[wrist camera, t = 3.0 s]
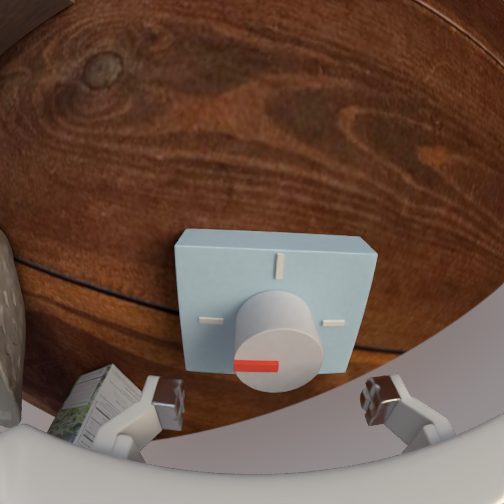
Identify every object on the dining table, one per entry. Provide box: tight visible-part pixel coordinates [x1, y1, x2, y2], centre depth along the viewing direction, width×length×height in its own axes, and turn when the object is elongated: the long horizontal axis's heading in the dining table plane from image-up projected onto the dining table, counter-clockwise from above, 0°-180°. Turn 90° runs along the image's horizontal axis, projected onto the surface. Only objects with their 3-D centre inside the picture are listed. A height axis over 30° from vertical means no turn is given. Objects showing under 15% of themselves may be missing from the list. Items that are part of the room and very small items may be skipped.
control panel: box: [174, 229, 378, 374], centre depth 18 cm, size 11×9×3 cm
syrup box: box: [47, 364, 142, 449], centre depth 16 cm, size 6×6×14 cm
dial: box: [233, 290, 324, 392], centre depth 14 cm, size 4×4×4 cm
